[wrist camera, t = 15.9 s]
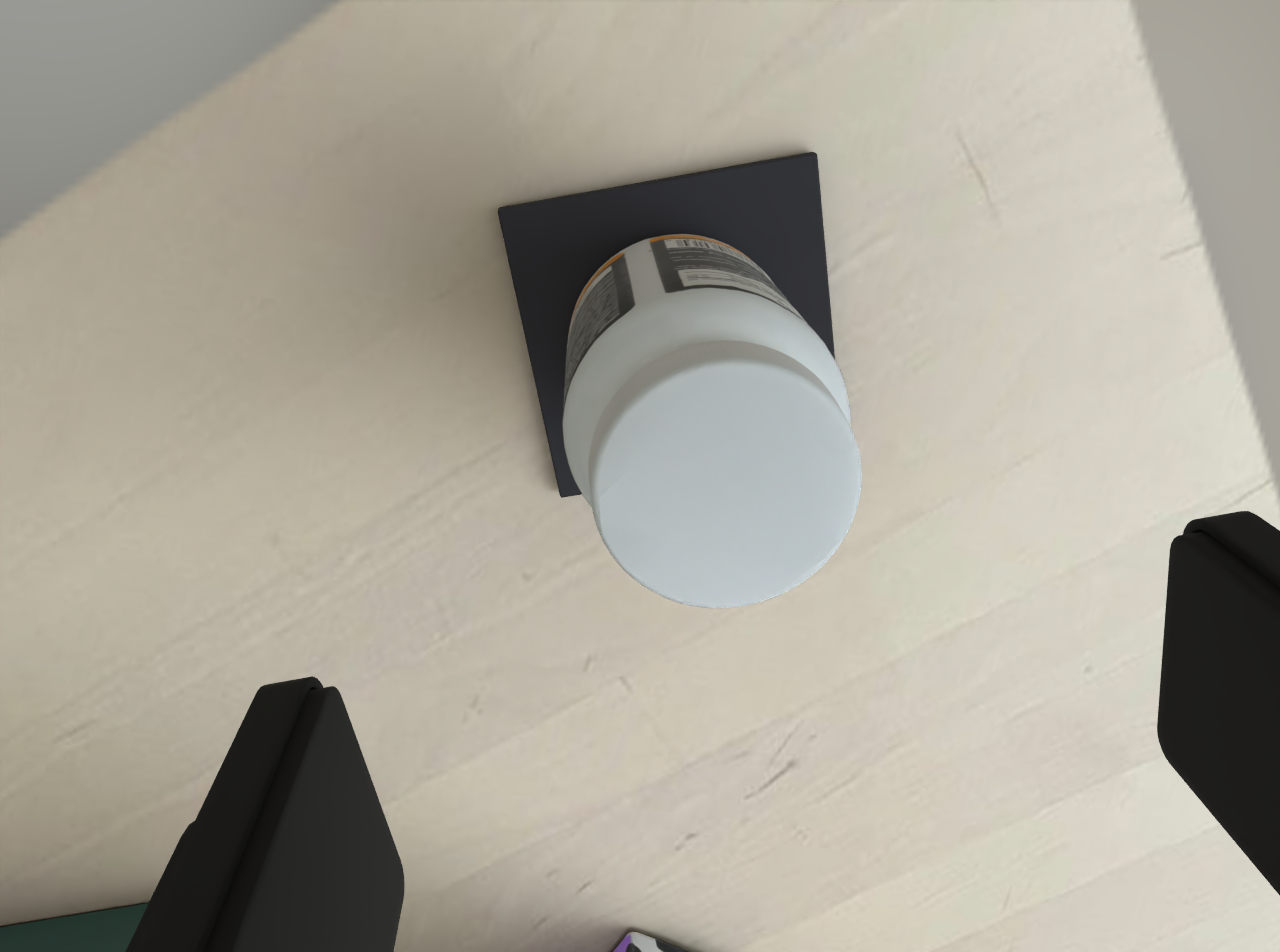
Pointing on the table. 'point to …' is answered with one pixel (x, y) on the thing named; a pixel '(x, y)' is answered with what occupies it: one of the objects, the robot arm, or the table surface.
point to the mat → (621, 216)
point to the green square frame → (75, 932)
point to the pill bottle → (706, 425)
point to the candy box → (644, 944)
